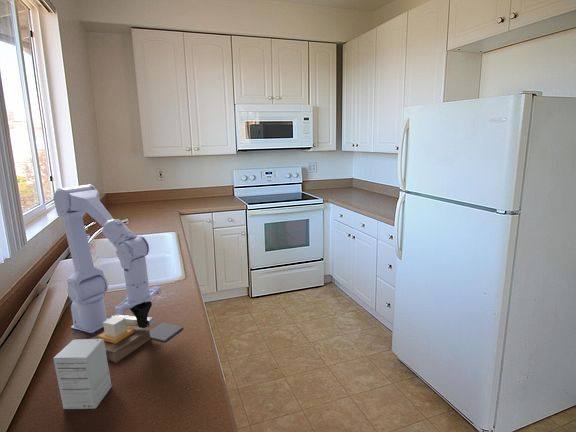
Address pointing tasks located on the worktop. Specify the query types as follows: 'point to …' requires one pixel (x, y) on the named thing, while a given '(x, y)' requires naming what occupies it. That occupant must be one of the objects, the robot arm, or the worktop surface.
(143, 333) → the socket block
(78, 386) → the supplement box
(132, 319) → the light grey long bar
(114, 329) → the plug
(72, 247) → the robot arm
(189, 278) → the worktop surface
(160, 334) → the mat
